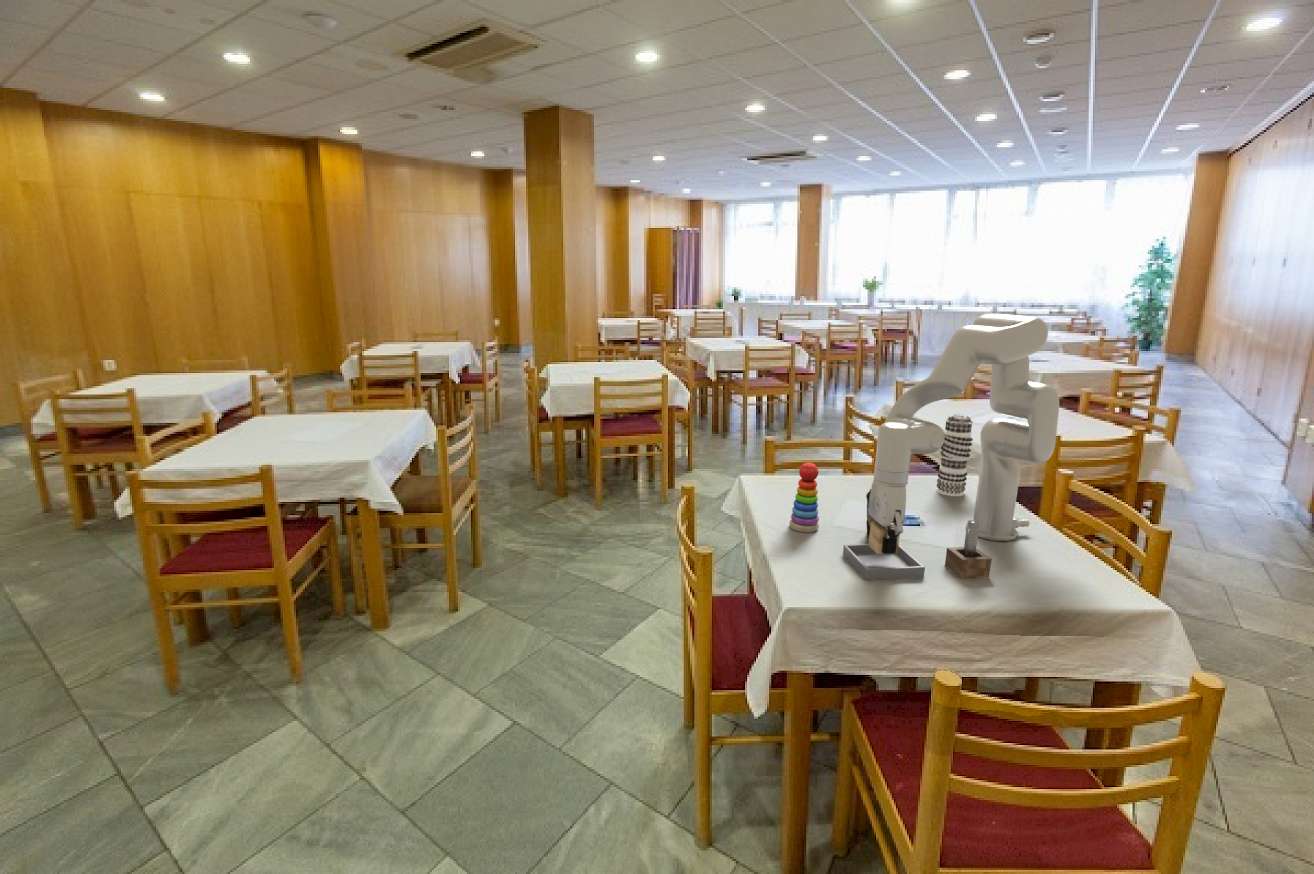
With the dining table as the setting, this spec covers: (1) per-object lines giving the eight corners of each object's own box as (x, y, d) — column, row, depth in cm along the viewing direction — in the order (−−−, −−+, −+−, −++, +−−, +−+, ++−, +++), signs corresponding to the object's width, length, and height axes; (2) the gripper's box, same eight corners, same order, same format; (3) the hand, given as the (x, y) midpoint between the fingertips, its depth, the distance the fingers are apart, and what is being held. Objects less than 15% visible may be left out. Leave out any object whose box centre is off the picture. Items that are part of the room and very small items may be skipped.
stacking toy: (783, 528, 183) (787, 462, 178) (798, 520, 189) (802, 456, 184) (809, 535, 178) (814, 468, 173) (823, 527, 184) (828, 462, 179)
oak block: (888, 544, 162) (890, 521, 161) (897, 553, 157) (900, 529, 156) (868, 545, 161) (870, 522, 160) (877, 553, 157) (879, 530, 155)
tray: (896, 552, 168) (897, 542, 167) (923, 577, 155) (925, 567, 154) (842, 554, 166) (843, 544, 166) (866, 579, 153) (867, 569, 152)
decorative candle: (931, 492, 213) (940, 416, 207) (939, 485, 220) (948, 411, 214) (961, 498, 208) (971, 420, 201) (968, 491, 215) (978, 415, 208)
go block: (971, 565, 162) (974, 546, 160) (988, 578, 155) (991, 558, 154) (944, 566, 161) (947, 547, 160) (960, 579, 154) (963, 560, 153)
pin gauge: (969, 566, 159) (975, 519, 156) (975, 571, 157) (982, 524, 154) (958, 567, 159) (965, 520, 156) (964, 572, 156) (971, 524, 153)
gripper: (860, 465, 163) (853, 534, 167) (892, 487, 146) (883, 563, 151) (889, 464, 163) (882, 533, 168) (924, 487, 147) (915, 562, 152)
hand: (883, 547), depth 159 cm, fingers closed on oak block, 5 cm apart
